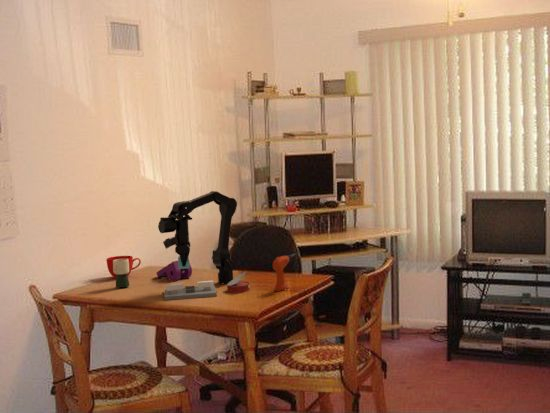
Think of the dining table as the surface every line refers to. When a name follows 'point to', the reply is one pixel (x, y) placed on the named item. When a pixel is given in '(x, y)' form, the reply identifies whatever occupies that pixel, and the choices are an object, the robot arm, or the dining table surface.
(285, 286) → the toy drill
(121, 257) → the ceramic cup
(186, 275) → the mounting bracket
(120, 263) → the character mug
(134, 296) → the dining table surface
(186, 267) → the block
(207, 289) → the plate
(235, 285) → the canned food
